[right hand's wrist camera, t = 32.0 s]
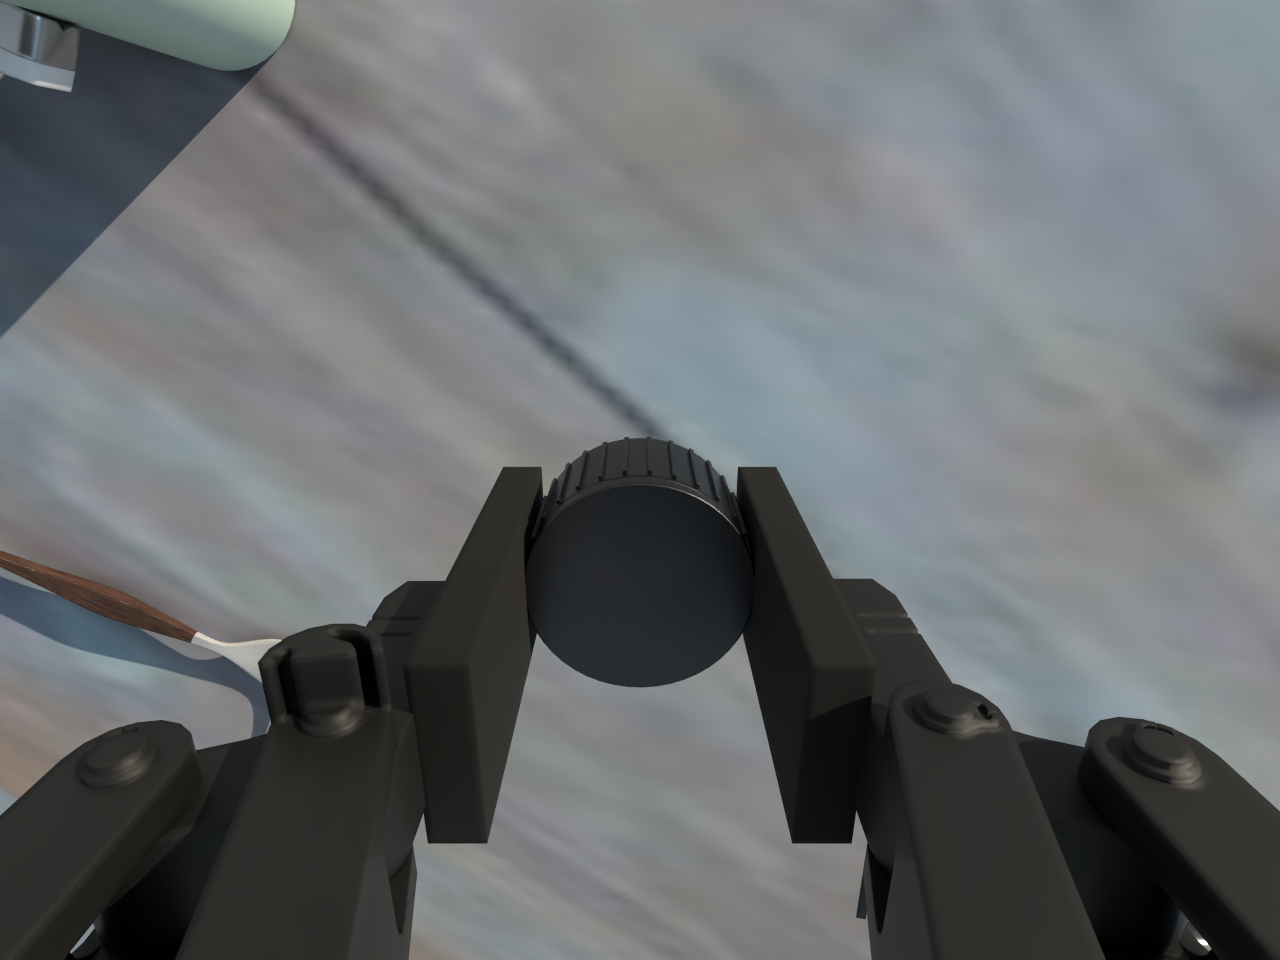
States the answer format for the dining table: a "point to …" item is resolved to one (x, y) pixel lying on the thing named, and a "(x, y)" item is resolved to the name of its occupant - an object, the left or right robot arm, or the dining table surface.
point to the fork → (132, 611)
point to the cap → (639, 565)
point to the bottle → (183, 26)
